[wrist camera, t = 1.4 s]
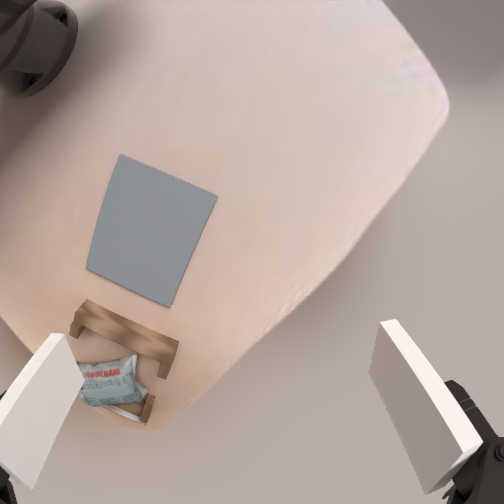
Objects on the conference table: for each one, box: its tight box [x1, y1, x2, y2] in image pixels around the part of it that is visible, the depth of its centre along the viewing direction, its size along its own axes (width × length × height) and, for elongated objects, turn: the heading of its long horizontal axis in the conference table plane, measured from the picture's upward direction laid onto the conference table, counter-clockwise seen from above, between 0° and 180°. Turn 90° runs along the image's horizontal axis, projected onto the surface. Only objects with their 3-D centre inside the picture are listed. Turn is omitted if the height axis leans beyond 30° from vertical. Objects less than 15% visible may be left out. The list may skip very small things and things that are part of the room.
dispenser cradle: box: [69, 299, 179, 425], centre depth 40 cm, size 15×18×5 cm
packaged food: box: [77, 354, 147, 407], centre depth 39 cm, size 9×12×5 cm
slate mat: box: [86, 154, 218, 308], centre depth 35 cm, size 13×16×1 cm
